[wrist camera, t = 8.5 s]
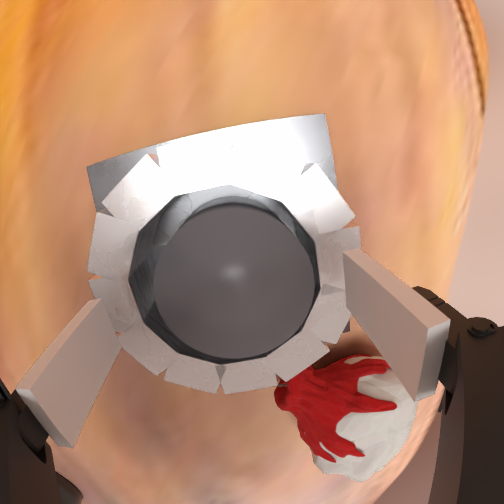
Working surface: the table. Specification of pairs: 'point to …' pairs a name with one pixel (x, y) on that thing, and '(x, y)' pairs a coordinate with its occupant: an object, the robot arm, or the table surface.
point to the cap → (233, 279)
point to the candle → (350, 414)
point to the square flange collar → (190, 198)
